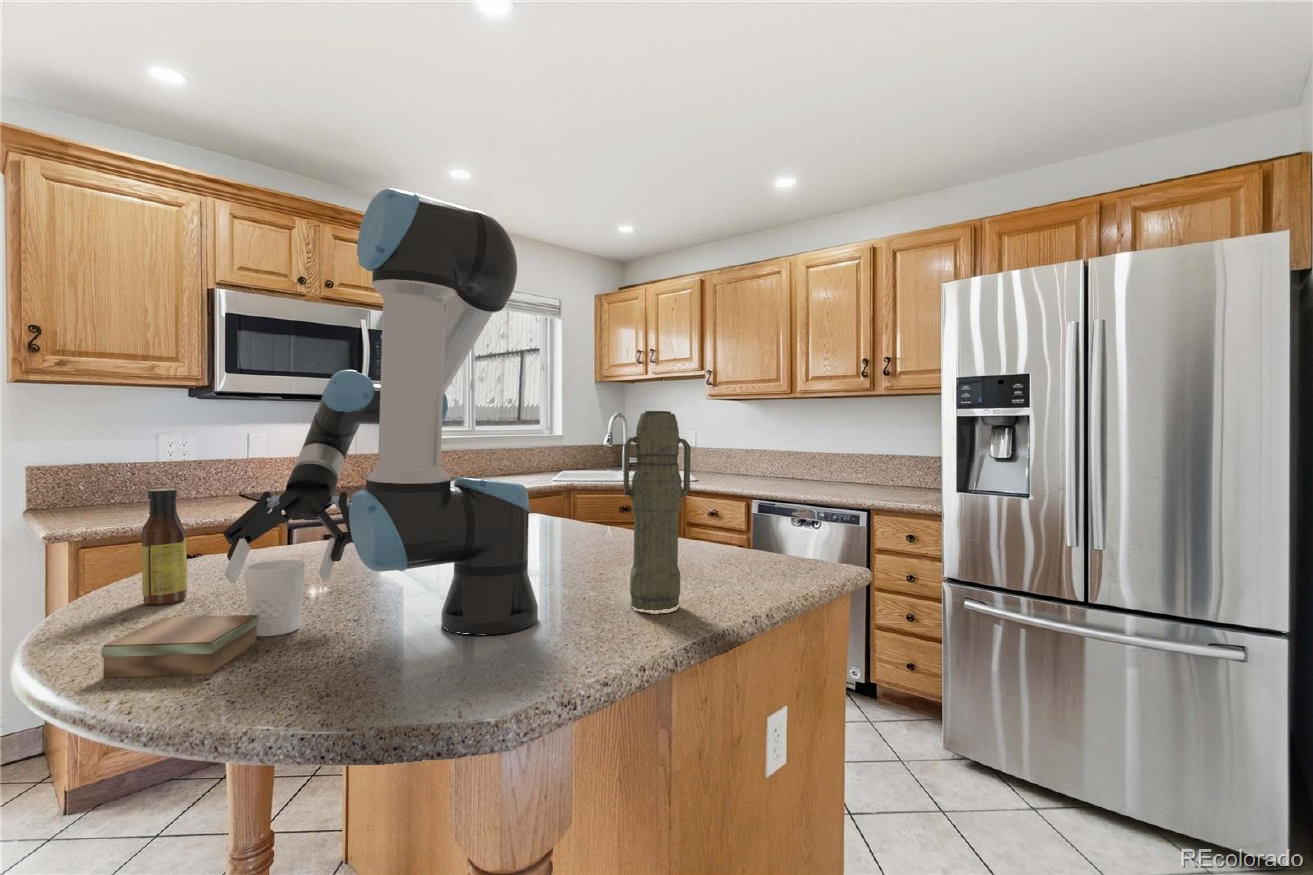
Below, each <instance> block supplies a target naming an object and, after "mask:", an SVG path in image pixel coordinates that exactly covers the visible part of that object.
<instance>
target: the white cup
mask: <svg viewBox="0 0 1313 875" xmlns="http://www.w3.org/2000/svg"><path fill="white" fill-rule="evenodd" d="M244 570H245V571H244V572H245V592H246V593H245V596H246V598H245V599H246V604H247V605H246V606H247V608H246V612H247V615H257V616H259V624H258V625H257V637H275V636H283V635H286V634H290V633H293V632H295V631H298V630H299V628H300V627H301V623H302V610H303V602H304V601H303V600H304V594H305V592H304V591H305V577H306V576H305V575H306V562H305V561H303V560H297V559H283V560H282V559H278V560H269V561H260V562H256V563H251V564H248V565H247V566H245V567H244Z"/></svg>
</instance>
